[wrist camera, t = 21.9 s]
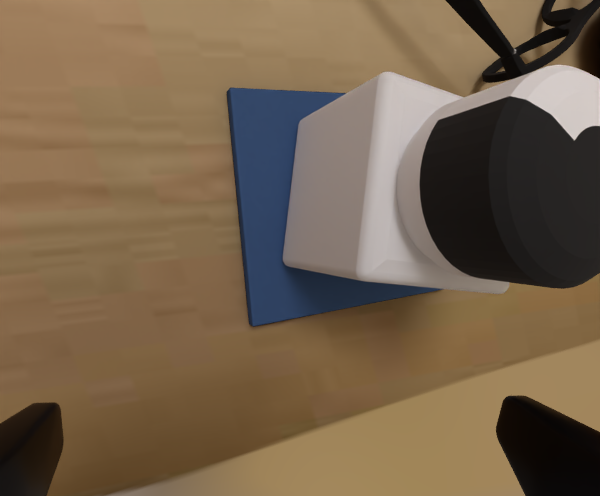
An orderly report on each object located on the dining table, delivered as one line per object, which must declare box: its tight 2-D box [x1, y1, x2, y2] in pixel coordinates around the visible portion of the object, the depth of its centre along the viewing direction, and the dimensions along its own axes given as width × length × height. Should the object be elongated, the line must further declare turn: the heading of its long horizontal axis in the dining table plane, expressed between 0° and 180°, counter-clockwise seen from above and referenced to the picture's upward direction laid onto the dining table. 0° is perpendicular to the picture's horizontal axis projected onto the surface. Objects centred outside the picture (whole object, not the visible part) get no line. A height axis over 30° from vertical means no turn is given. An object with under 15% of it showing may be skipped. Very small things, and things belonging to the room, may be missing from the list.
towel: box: [227, 88, 442, 326], centre depth 22 cm, size 11×12×1 cm
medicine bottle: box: [283, 65, 600, 294], centre depth 16 cm, size 7×7×12 cm
